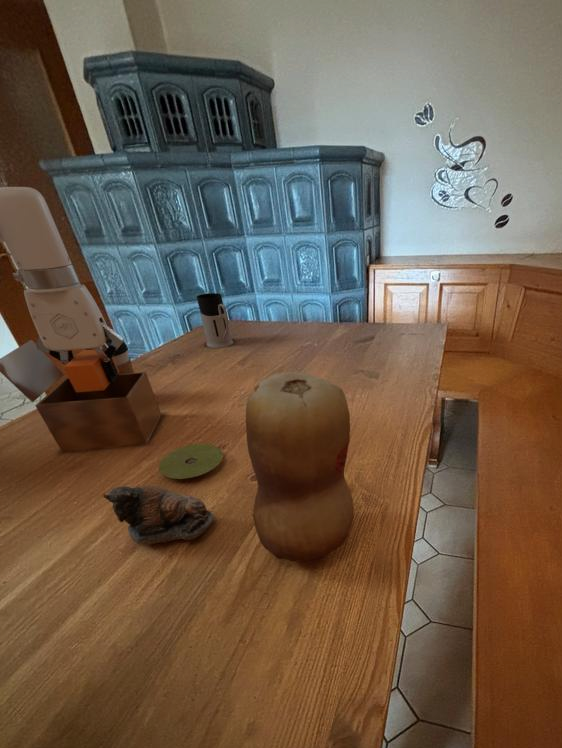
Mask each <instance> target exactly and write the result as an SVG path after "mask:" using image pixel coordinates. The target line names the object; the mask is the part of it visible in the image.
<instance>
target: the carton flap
mask: <svg viewBox="0 0 562 748" xmlns="http://www.w3.org/2000/svg"><path fill="white" fill-rule="evenodd" d="M36 345H37V343H35V342H34V341H33V339H30V340H28V341H27V342H24V343H23V344H22V345H20V346H18V347H17V348H15V349H13V350H12V351H11V352H10V351H9V353H7V354H6V355H4V356H2V357H1V358H0V373H1V374H2V375H3V377H5V378H6V379H7V380H8V382H10V383H11V384H12V385H13V386H15V388H16V389H18V391H19V392H21V393H22V395H24V396H25V397H26V398H27V399H28V400H29V401H30V402H31V403H34V402H35V401H36V400H37V399H39V397H41V396H42V395H43V394H44V393H45V392H46V391H47V390H49V389H50V388H51V387H53V385H54V384H56V383H57V382H58V381H59V380H60V379H61V378H63V376H65V374H64V372H63V371H61V369H60V368H58V366H57V364H55V363H54V362H53V361H52V359H50V357H48V356H47V354H46V353H45V352H43V351H41V350H39V349H38V348H37V347H36Z"/></svg>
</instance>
